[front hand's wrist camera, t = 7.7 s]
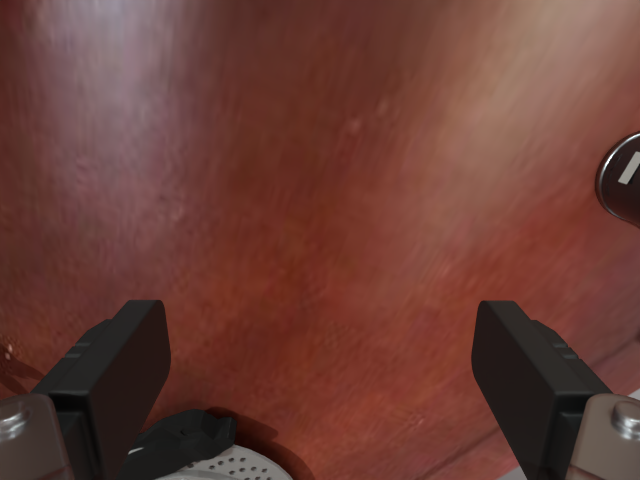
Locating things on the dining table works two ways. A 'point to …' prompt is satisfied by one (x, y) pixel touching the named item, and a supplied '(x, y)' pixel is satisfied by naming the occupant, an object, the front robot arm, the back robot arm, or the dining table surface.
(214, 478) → the brake disc
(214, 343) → the dining table surface
